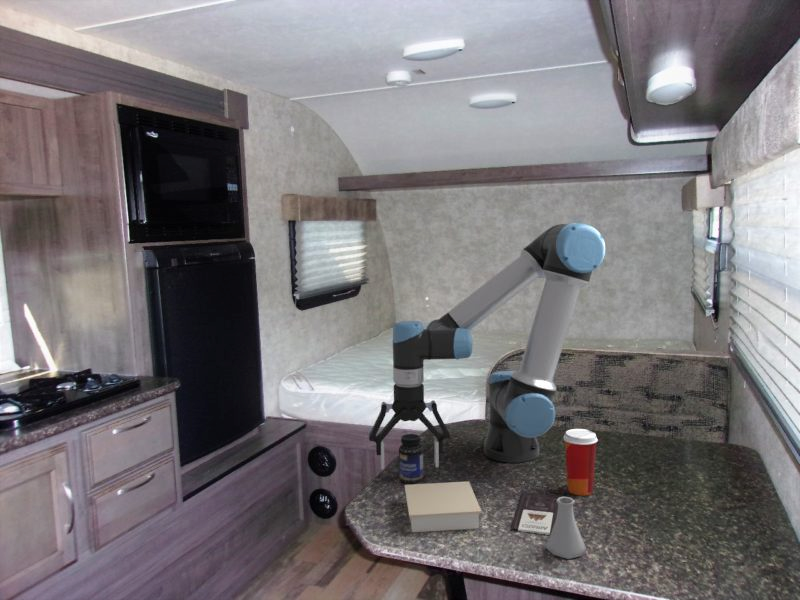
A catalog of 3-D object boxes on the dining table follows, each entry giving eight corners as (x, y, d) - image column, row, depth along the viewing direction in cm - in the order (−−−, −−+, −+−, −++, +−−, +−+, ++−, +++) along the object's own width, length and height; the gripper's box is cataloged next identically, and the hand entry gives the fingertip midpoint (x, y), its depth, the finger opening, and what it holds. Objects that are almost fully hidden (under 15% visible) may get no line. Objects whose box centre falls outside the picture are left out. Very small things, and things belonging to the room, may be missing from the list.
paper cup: (584, 481, 145) (584, 426, 143) (604, 494, 138) (604, 436, 136) (556, 487, 143) (556, 430, 141) (575, 500, 135) (575, 440, 134)
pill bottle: (396, 483, 148) (395, 440, 147) (402, 473, 154) (401, 432, 152) (420, 485, 146) (419, 441, 145) (426, 475, 152) (425, 433, 151)
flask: (562, 536, 120) (562, 488, 119) (593, 550, 114) (593, 501, 113) (538, 548, 115) (538, 499, 114) (569, 564, 110) (569, 512, 109)
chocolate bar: (562, 496, 137) (556, 533, 120) (562, 499, 137) (556, 538, 120) (522, 492, 139) (511, 528, 122) (522, 495, 140) (511, 532, 123)
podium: (469, 497, 138) (468, 481, 138) (481, 529, 123) (481, 511, 123) (405, 501, 137) (404, 484, 137) (409, 533, 122) (409, 515, 122)
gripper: (358, 388, 143) (360, 473, 145) (460, 385, 144) (461, 470, 146) (358, 381, 150) (360, 462, 153) (456, 378, 152) (456, 458, 154)
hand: (409, 466), depth 150 cm, fingers open, 13 cm apart
